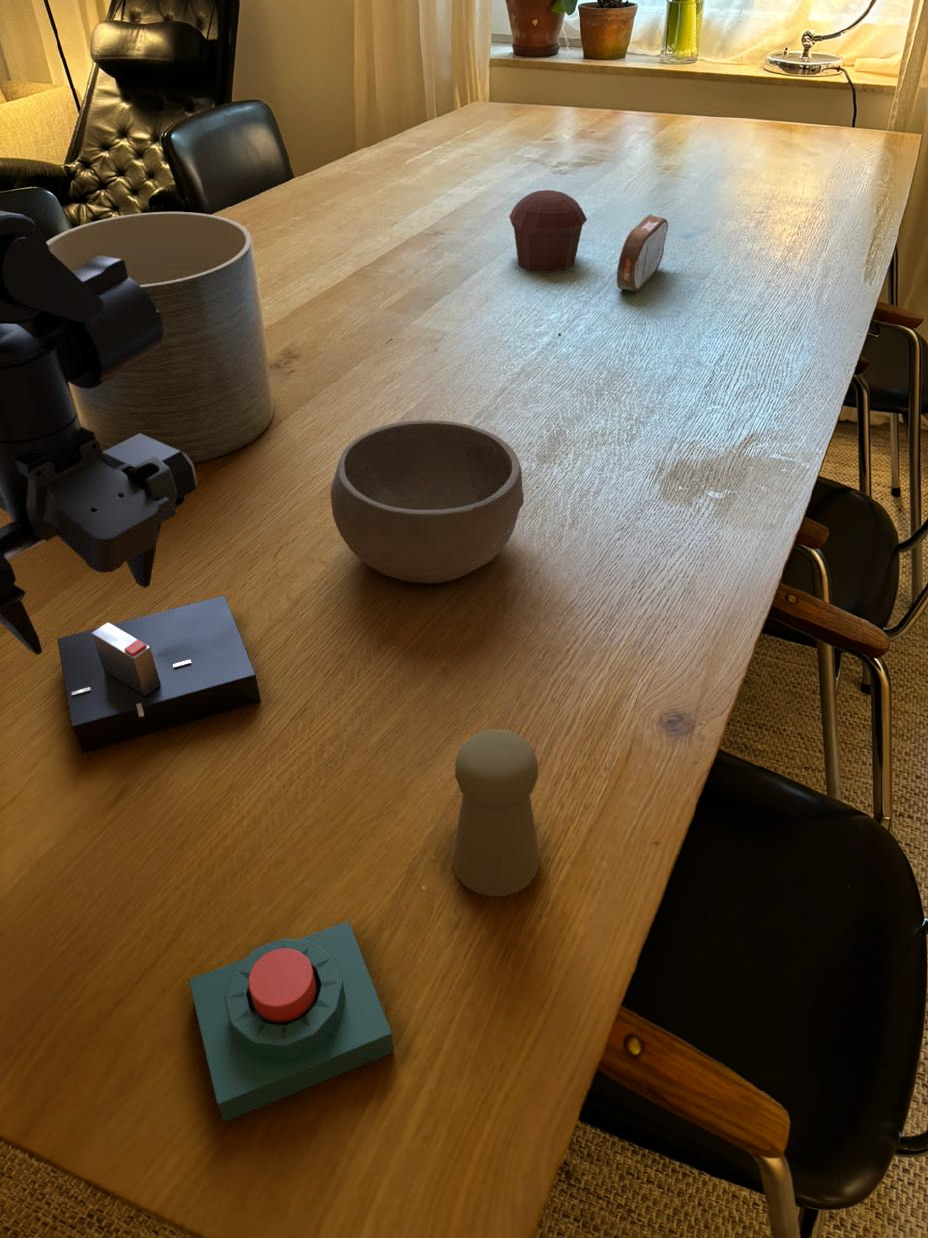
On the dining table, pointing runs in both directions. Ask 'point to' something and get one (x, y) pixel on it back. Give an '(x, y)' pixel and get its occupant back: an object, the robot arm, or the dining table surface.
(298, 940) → the button block
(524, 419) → the dining table surface
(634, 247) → the tin
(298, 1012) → the button
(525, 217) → the muffin
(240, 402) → the planter
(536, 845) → the brown pawn
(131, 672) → the grey rectangular block
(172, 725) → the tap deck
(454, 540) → the bowl
